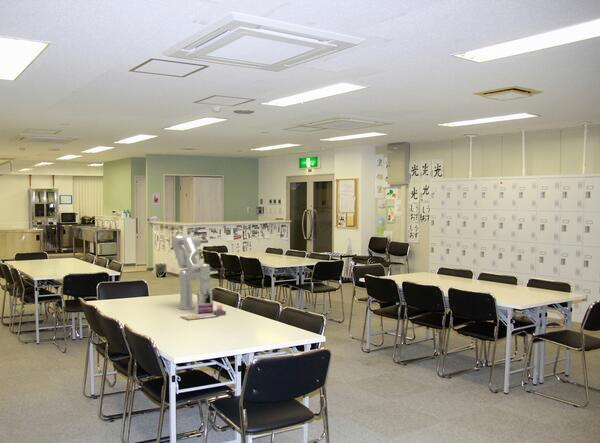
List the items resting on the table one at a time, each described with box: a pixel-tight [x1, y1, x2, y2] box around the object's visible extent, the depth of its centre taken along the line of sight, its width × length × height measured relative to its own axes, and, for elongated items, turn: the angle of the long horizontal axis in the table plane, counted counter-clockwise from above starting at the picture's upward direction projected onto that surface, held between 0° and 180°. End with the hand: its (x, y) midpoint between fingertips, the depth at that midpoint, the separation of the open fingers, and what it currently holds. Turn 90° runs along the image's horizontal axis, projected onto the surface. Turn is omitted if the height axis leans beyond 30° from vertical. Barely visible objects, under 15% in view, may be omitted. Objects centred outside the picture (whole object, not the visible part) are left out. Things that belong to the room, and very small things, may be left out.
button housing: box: [212, 309, 227, 317], centre depth 419 cm, size 7×7×3 cm
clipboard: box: [179, 313, 219, 322], centre depth 410 cm, size 15×24×1 cm, turn 123°
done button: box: [216, 304, 223, 312], centre depth 419 cm, size 4×4×5 cm
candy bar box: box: [196, 290, 214, 314], centre depth 425 cm, size 11×5×16 cm, turn 112°
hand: (205, 302), depth 424 cm, fingers open, 9 cm apart
